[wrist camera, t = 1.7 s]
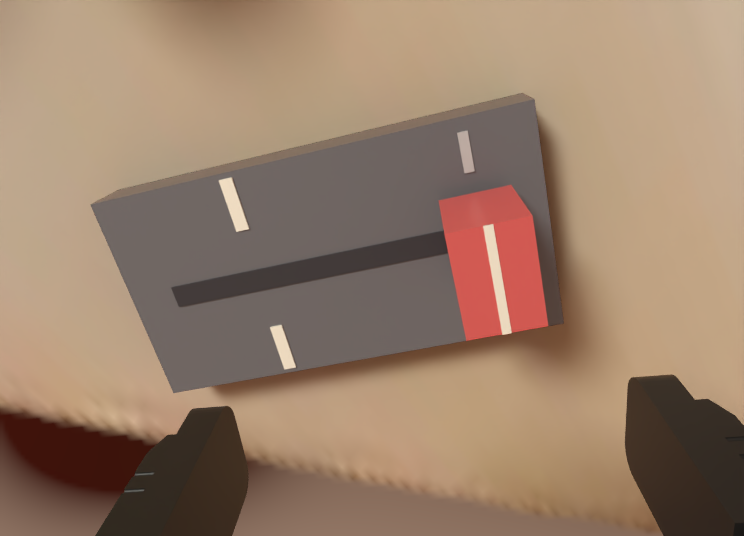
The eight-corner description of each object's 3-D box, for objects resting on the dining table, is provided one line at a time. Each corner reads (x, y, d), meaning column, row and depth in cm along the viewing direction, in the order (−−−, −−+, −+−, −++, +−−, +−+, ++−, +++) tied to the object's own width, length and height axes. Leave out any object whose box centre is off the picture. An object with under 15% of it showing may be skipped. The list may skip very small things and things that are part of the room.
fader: (509, 181, 27) (532, 215, 22) (523, 274, 29) (548, 326, 24) (437, 197, 28) (444, 234, 22) (456, 287, 29) (466, 341, 24)
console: (522, 93, 29) (534, 99, 26) (550, 299, 33) (564, 324, 30) (117, 190, 32) (89, 205, 29) (191, 365, 36) (172, 393, 34)
